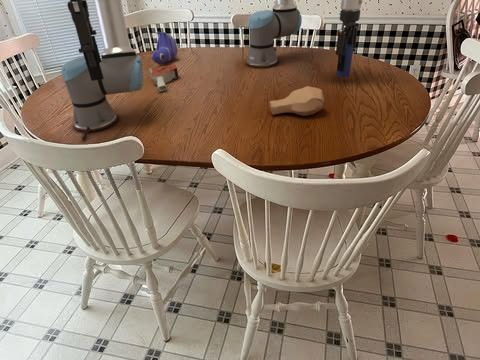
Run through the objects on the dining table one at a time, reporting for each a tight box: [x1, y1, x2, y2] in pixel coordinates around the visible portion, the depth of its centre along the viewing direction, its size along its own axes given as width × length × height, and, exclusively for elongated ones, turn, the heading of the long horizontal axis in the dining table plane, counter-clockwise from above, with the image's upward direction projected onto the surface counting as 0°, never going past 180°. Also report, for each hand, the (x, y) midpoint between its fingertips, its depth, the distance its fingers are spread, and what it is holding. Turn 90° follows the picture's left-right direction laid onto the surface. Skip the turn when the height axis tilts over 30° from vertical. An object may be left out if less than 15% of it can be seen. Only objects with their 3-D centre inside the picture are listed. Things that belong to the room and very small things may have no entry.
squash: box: [268, 85, 325, 117], centre depth 129 cm, size 11×20×9 cm, turn 92°
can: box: [336, 44, 354, 78], centre depth 149 cm, size 6×6×12 cm
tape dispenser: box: [148, 64, 179, 93], centre depth 162 cm, size 18×5×20 cm
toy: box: [150, 31, 178, 67], centre depth 182 cm, size 10×17×25 cm
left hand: (97, 70), depth 88 cm, fingers open, 13 cm apart
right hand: (343, 68), depth 151 cm, fingers closed on can, 5 cm apart
